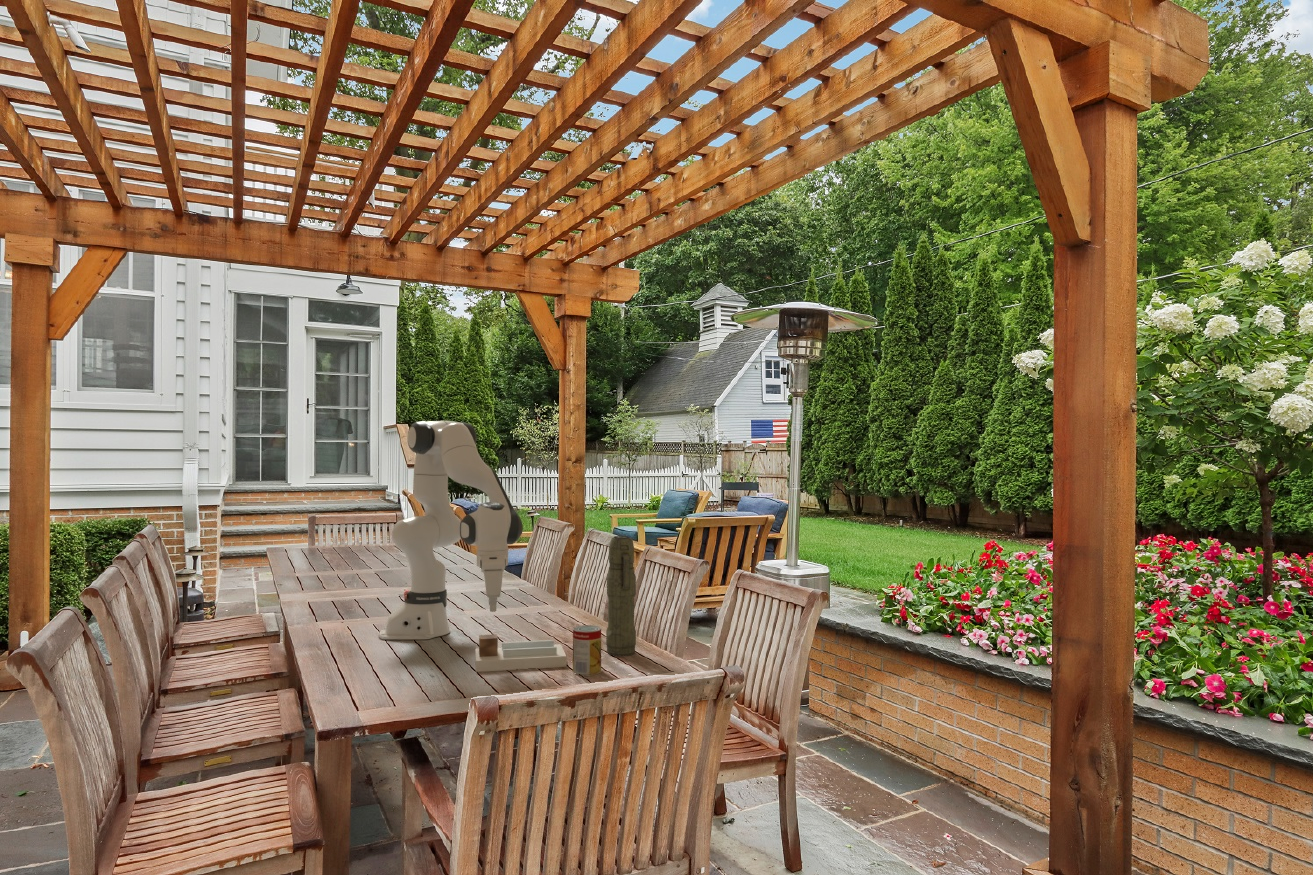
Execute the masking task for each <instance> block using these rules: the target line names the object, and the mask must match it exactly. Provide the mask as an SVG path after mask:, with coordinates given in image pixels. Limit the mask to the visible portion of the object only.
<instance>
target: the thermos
mask: <svg viewBox="0 0 1313 875" xmlns="http://www.w3.org/2000/svg"><path fill="white" fill-rule="evenodd" d="M608 545H609V546H608V564H609V566H608V572H607V574H606V596H607V600H608V601H607V604H608V605H607V606H608V607H607V609H608V610H607V613H608V614H607V624H608V625H607V628H606V632H605V633H606V634H605V636H606V638H605V639H606V640H605V644H606V654H607V653H608V654H610V655H609V656H611V655H614V656H613V657H630V656H632V655H635V654H636V644H637V630H636V628H635V596H636V594H637V576H636V573H635V567H634V563H635V545H634V542H633V539H632V537H630V536H627V535H615V536H613V537H611V539H610V542H609V544H608ZM608 654H607V655H608Z"/></svg>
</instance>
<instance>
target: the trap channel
mask: <svg viewBox="0 0 1313 875" xmlns="http://www.w3.org/2000/svg"><path fill="white" fill-rule="evenodd" d="M474 650H475V652H474V653H475V654H474V658H475V659H474V660H475V661H474V662H475V672H476V673H482V672H496V671H497V672H499V671H513V670H515V671H517V670H516V669H518V670H529V669H528V668H536V669H548V668H549V669H551V668H553V669H554V668H565V667H566V668H567V655H566V652H565V650H564V648H563V646H562V644H559V643H558V644H556V643H555V642H554V639H547V640H546V639H545V640H544V639H543V640H526V641H525V640H523V641H522V640H521V641H507V642H506V641H505V642H501V647H499V646H498V656H488V657H479V647H477V648H475V649H474Z"/></svg>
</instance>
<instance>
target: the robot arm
mask: <svg viewBox="0 0 1313 875" xmlns="http://www.w3.org/2000/svg"><path fill="white" fill-rule="evenodd" d="M476 444H477V431H476V429H475V427H474V425H472V424H470V423H467V422H465V421H460V422H458V421H453V420H451V421H450V420H432V421H430V420H429V421H425V420H422V421H416V422H415V421H414V422H413V423H412V424H411V426H410V427H409V428H408V431H407V445H408V448H409V449H410V450H411V452H413V453H414V454H415V460H414V464H413V465H414V466H413V482H412V483H413V484H412V485H413V486H412V496H413V498H414V499H415V501H416V502H418V503H419V504H421V505H422V507H423V509H424V515H420V516H419V515H418V516H417V515H416V516H409V517H407V518H403V519H400V520H398V521H397V522H396V523H395V524H394V526H393V528H392V534H391V535H392V541H393V543H394V545H395V547H396V548H398V549H399V550H400V551H401V552H402V553H403V554H404V555H405V558H406V559H407V562H408V565H409V569H410V590H408V589H407V590H405V591H404V592H403V596H404V597H403V599H404V603H402V604H401V605H400V606H399V607H398V608H396V609H395V610H394V611H392V612H391V613H390V614H389V616H388V617H387V620H386V624H385V628H383V629H381V630H380V631H379V633H378V638H379V639H381V640H430V639H433V638H436V637H437V638H438V637H441V636H445V635H447V634H449V633H451V629H450V625H449V621H448V614H447V605H448V593H447V592H448V591H447V588H446V580H447V579H446V577H447V576H446V566H445V565H444V563H443V562H442V561H439V559H438V560H437V558H436V556H435V554H434V553H435V552H434V549H435V548H445V547H448V546H451V545H453V544H456V543H459V542H460V541H461V540H462V541H463V542H464V543H465V544H467V545H468V546H473V547H474V546H477V547H476V567H477V568H480V569H481V570H480V571H481V573H483V577H484V578H483V579H484V584H485V586H484V587H485V593H486V597H487V599H488V604H489V611H490V612H491V613H493V612H494V613H496V612H497V605H498V604H497V603H498V598H500V597H501V595H502V594H501V593H502V584H503V574H504V570H505V569H506V567H508V566H509V546H508V545H514V544H515V543H516V542H517V541H518V540H519V539H520V538H521V536H522V534H523V531H524V527H523V521H522V518H521V517H520V515H519V514H518V513H517V511H516V509H515V508H514V506H513V504H512V503H511V501H510V498H509V496H508V495H507V492H506V491H505V488H504V486H503V484H502V482H501V481H500V478H499V476H498V474H497V473H496V471H495V469H493V468H492V467H490V466H488V464H486V463H485V462H484V460H483V459H482V457H481V456H480V453H479V452H478V448H477V445H476ZM449 478H450V479H451V480H452V481H454V482H455V483H458V484H460V485H464V486H469V487H472V488H474V489H476V490H480V491H481V492H483V493H485V495H486V496H487V497H488V500H489V501H485V502H482V503H480V504H479V505H478V506H477V510H475V511H473V512H471V513H467V514H466V515H464V517H463V518H462V520H461V519H460V517H458V516H457V515H456V514H455V513H454V511H453V508H452V507H451V504H450V501H449V489H448V488H449Z"/></svg>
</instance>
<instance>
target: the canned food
mask: <svg viewBox="0 0 1313 875" xmlns="http://www.w3.org/2000/svg"><path fill="white" fill-rule="evenodd" d="M573 672H574V673H576V674H575V675H577V674H581V675H580V676H583V675H589V676H595V675H598V674H600V673H601V672H602V627H601V626H598V625H591V624H590V625H589V624H588V625H587V624H584V625H583V624H582V625H578V626H574V627H573V628H572V673H573ZM574 673H573V674H574Z"/></svg>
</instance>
